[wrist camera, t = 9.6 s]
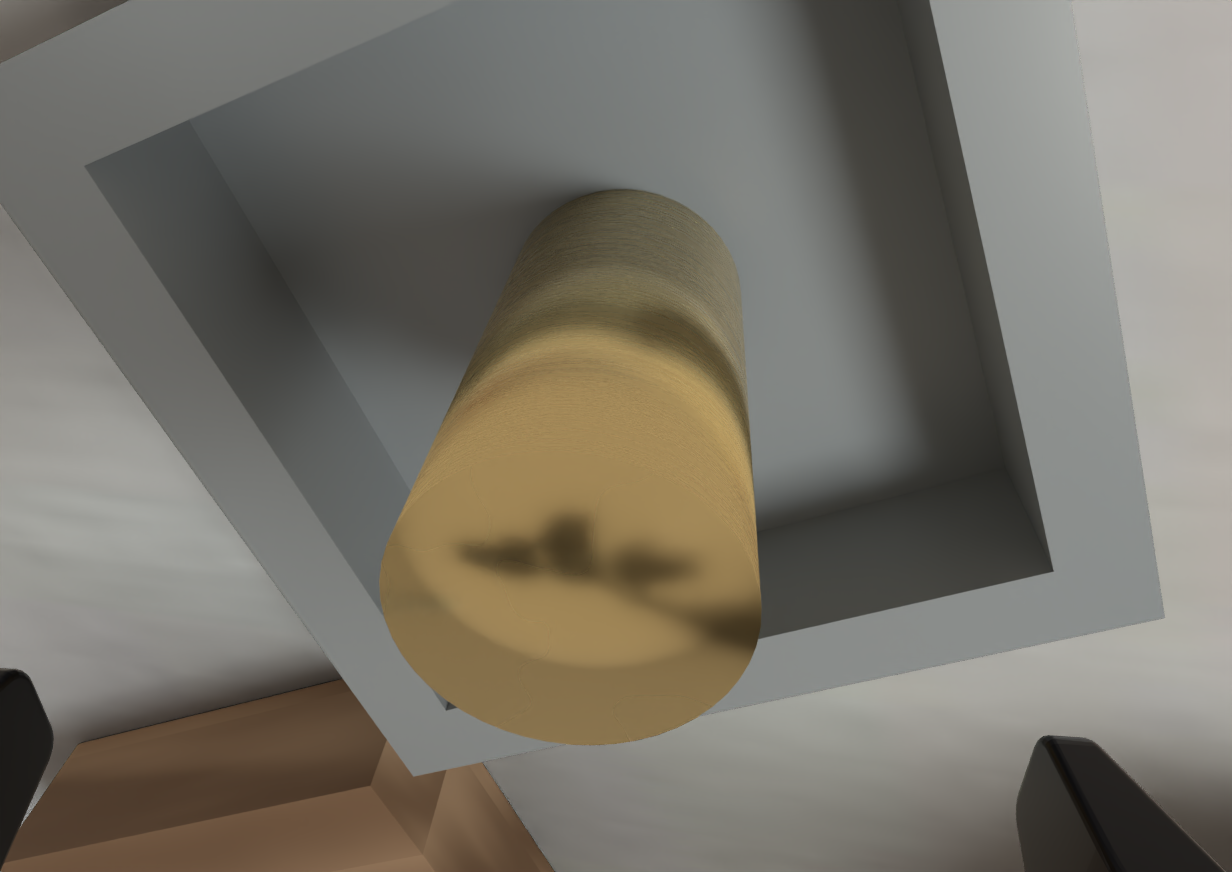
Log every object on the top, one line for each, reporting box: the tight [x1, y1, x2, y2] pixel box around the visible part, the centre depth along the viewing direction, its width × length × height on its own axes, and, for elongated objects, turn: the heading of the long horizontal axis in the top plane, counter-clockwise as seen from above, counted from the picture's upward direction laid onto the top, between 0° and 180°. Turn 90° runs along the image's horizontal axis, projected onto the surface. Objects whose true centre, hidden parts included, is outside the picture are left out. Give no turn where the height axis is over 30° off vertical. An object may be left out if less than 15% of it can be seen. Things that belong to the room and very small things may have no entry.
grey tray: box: [0, 0, 1165, 777], centre depth 16 cm, size 14×14×4 cm
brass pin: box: [379, 189, 762, 745], centre depth 14 cm, size 4×4×8 cm
